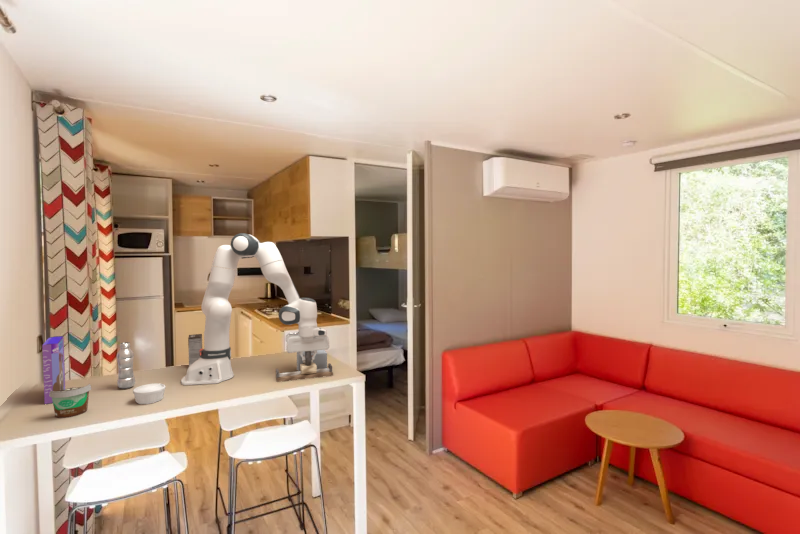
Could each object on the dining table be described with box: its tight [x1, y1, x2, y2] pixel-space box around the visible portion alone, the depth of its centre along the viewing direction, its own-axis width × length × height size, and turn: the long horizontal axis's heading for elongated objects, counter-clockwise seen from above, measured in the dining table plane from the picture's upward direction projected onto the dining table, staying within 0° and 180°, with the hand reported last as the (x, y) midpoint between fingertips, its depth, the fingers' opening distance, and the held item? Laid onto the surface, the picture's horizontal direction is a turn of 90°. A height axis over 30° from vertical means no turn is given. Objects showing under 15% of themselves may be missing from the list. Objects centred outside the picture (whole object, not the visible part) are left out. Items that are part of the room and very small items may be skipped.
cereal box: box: [42, 335, 66, 405], centre depth 169 cm, size 17×5×24 cm, turn 34°
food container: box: [49, 383, 92, 419], centre depth 150 cm, size 12×6×10 cm, turn 126°
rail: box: [275, 363, 334, 383], centre depth 196 cm, size 26×7×4 cm, turn 111°
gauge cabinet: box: [296, 350, 328, 371], centre depth 206 cm, size 14×9×9 cm, turn 111°
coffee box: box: [187, 333, 203, 367], centre depth 214 cm, size 9×6×16 cm
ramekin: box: [132, 383, 166, 405], centre depth 165 cm, size 11×11×5 cm
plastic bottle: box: [116, 341, 136, 389], centre depth 180 cm, size 6×7×20 cm
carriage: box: [300, 351, 317, 375], centre depth 196 cm, size 7×6×11 cm
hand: (308, 360), depth 196 cm, fingers closed on carriage, 3 cm apart
